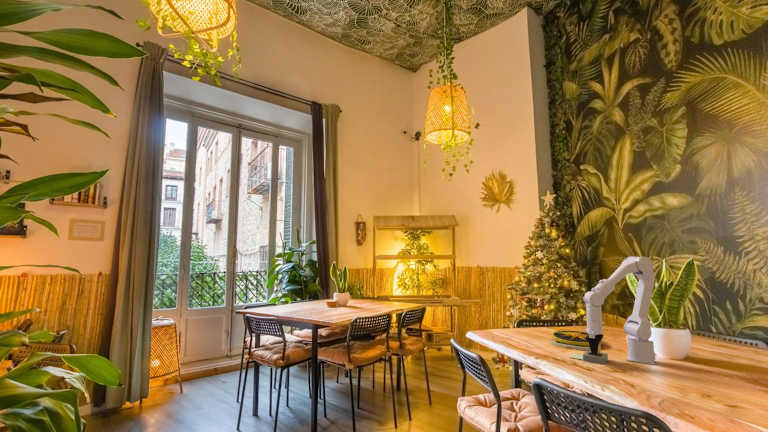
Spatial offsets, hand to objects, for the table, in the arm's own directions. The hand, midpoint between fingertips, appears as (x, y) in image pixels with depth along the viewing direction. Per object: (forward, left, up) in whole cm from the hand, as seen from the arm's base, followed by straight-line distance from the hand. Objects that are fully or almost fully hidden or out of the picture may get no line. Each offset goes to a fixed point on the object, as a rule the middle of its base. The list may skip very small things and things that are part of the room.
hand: (595, 352), depth 164 cm
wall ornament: (+12, -28, -4) cm, 31 cm away
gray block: (0, 0, -3) cm, 3 cm away
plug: (0, 0, -3) cm, 3 cm away
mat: (+7, 0, -3) cm, 8 cm away
